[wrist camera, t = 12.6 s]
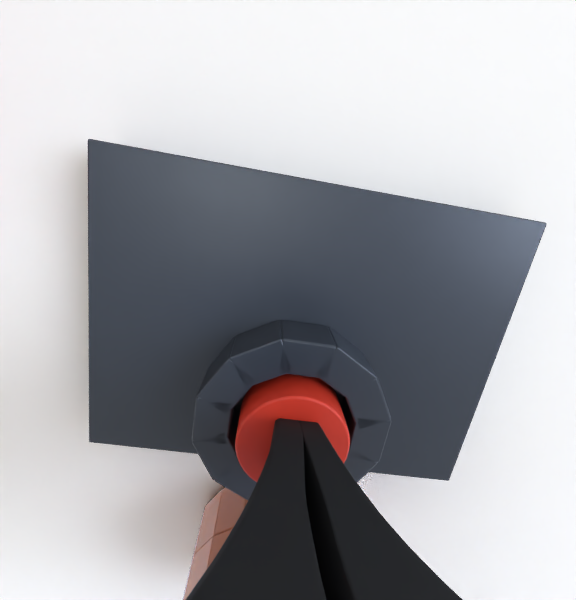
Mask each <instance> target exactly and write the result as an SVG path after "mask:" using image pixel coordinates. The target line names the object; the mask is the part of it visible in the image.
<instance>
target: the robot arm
mask: <svg viewBox="0 0 576 600" xmlns="http://www.w3.org/2000/svg"><path fill="white" fill-rule="evenodd" d="M186 600H462V599H461V598H460V597H459V596H458V595H457V594H456V593H455V592H454V591H453V590H451V589H450V588H449V587H448V586H447V585H446V584H445V583H444V582H443V581H442V580H441V579H440V578H439V577H438V576H437V575H436V574H435V573H434V572H433V571H432V570H431V569H430V568H429V567H428V566H427V565H426V564H425V563H424V562H423V561H422V560H421V559H420V558H419V557H418V556H417V555H416V554H415V552H414V551H413V550H412V549H411V548H410V547H409V546H408V545H407V544H406V543H405V542H404V541H403V539H402V538H401V537H400V536H399V535H398V534H397V533H396V532H395V530H394V529H393V528H392V527H391V526H390V525H389V524H388V522H387V521H386V520H385V519H384V518H383V516H382V515H381V514H380V513H379V512H378V510H377V509H376V508H375V507H374V505H373V504H372V503H371V501H370V500H369V499H368V497H367V496H366V495H365V493H364V492H363V491H362V489H361V488H360V486H359V485H358V484H357V482H356V481H355V479H354V478H353V477H352V475H351V474H350V472H349V471H348V469H347V468H346V466H345V465H344V463H343V462H342V460H341V459H340V457H339V456H338V454H337V452H336V451H335V449H334V448H333V446H332V444H331V443H330V441H329V440H328V438H327V436H326V435H325V433H324V431H323V430H322V428H321V426H320V425H319V423H317V422H309V421H300V420H292V419H284V418H279V419H277V420H275V424H274V429H273V435H272V440H271V446H270V451H269V454H268V457H267V459H266V462H265V465H264V468H263V470H262V472H261V474H260V477H259V479H258V481H257V483H256V485H255V488H254V490H253V492H252V494H251V496H250V498H249V500H248V502H247V504H246V506H245V508H244V510H243V511H242V513H241V515H240V517H239V519H238V520H237V522H236V524H235V526H234V527H233V529H232V531H231V532H230V534H229V536H228V537H227V539H226V541H225V542H224V544H223V545H222V547H221V549H220V550H219V552H218V553H217V555H216V557H215V558H214V560H213V561H212V563H211V564H210V566H209V567H208V569H207V570H206V571H205V573H204V574H203V576H202V577H201V578H200V580H199V581H198V583H197V584H196V586H195V587H194V588H193V590H192V591H191V593H190V594H189V595H188V597H187V598H186Z"/></svg>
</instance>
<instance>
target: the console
mask: <svg viewBox="0 0 576 600" xmlns="http://www.w3.org/2000/svg"><path fill="white" fill-rule="evenodd" d="M545 227H546V223H545V222H539V221H534V220H528V219H523V218H517V217H512V216H506V215H501V214H496V213H490V212H485V211H479V210H474V209H468V208H463V207H457V206H452V205H447V204H441V203H436V202H430V201H425V200H419V199H414V198H408V197H403V196H398V195H392V194H387V193H381V192H376V191H370V190H365V189H359V188H354V187H349V186H343V185H338V184H332V183H327V182H321V181H316V180H310V179H305V178H300V177H294V176H289V175H283V174H278V173H272V172H267V171H261V170H256V169H251V168H245V167H240V166H234V165H229V164H223V163H218V162H212V161H207V160H202V159H196V158H191V157H185V156H180V155H174V154H169V153H163V152H158V151H153V150H147V149H142V148H136V147H131V146H125V145H120V144H114V143H109V142H104V141H98V140H93V139H88V277H89V442H94V443H103V444H112V445H122V446H131V447H140V448H150V449H159V450H168V451H178V452H187V453H196V454H199V456H200V458H201V460H202V461H203V463H204V465H205V467H206V469H207V470H208V472H209V474H210V476H211V477H212V479H213V480H215V481H216V482H217V483H219V484H221V485H222V486H224V487H226V488H228V489H229V490H231V491H233V492H234V493H236V494H238V495H239V496H241V497H243V498H244V499H246V500H249V498H250V496H251V494H252V492H253V490H254V488H255V485H256V483H257V482H256V481H254V480H253V479H252V478H250V477H249V476H248V475H247V474H246V472H245V471H244V470H243V468H242V467H241V465H240V463H239V461H238V458H237V455H236V450H235V439H236V433H237V427H238V421H239V416H240V410H241V405H242V401H243V399H244V397H245V395H246V393H247V392H248V391H249V389H250V388H251V387H252V386H253V385H256V384H259V383H262V382H264V381H267V380H270V379H273V378H276V377H279V376H281V375H284V374H292V375H299V376H307V377H315V378H320V379H321V380H323V381H324V382H325V383H327V384H328V385H329V386H331V387H332V388H333V390H334V391H335V393H336V395H337V397H338V400H339V403H340V406H341V409H342V412H343V415H344V418H345V421H346V424H347V427H348V431H349V435H350V447H349V452H348V455H347V458H346V460H345V462H344V465H345V466H346V468H347V469H348V471H349V472H350V474H351V475H352V477H353V478H354V479H355V481H356V482H358V481H359V480H360V479H361V478H362V477H363V476H365V475H366V474H367V473H368V472H373V473H382V474H392V475H401V476H410V477H420V478H429V479H438V480H449V478H450V476H451V473H452V471H453V468H454V465H455V463H456V460H457V457H458V455H459V452H460V450H461V447H462V444H463V442H464V439H465V437H466V434H467V431H468V429H469V426H470V423H471V421H472V418H473V416H474V413H475V410H476V408H477V405H478V402H479V400H480V397H481V395H482V392H483V389H484V387H485V384H486V381H487V379H488V376H489V374H490V371H491V368H492V366H493V363H494V361H495V358H496V355H497V353H498V350H499V347H500V345H501V342H502V340H503V337H504V334H505V332H506V329H507V326H508V324H509V321H510V319H511V316H512V313H513V311H514V308H515V305H516V303H517V300H518V298H519V295H520V292H521V290H522V287H523V285H524V282H525V279H526V277H527V274H528V271H529V269H530V266H531V264H532V261H533V258H534V256H535V253H536V250H537V248H538V245H539V243H540V240H541V237H542V235H543V232H544V229H545Z"/></svg>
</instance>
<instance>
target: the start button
mask: <svg viewBox="0 0 576 600" xmlns="http://www.w3.org/2000/svg"><path fill="white" fill-rule="evenodd" d="M279 418H284V419H292V420H300V421H309V422H317V423H319V425H320V426H321V428H322V430H323V431H324V433H325V435H326V436H327V438H328V440H329V441H330V443H331V444H332V446H333V448H334V449H335V451H336V452H337V454H338V456H339V457H340V459H341V460H342V462H343V463H344V462H345V460H346V458H347V455H348V452H349V447H350V435H349V431H348V427H347V424H346V421H345V418H344V415H343V412H342V409H341V406H340V403H339V400H338V397H337V395H336V393H335V391H334V390H333V388H332V387H331V386H329V385H328V384H327V383H325V382H324V381H323V380H321V379H320V378H315V377H307V376H299V375H292V374H284V375H281V376H279V377H276V378H273V379H270V380H267V381H264V382H262V383H259V384H256V385H253V386H252V387H251V388H250V389H249V391H248V392H247V393H246V395H245V397H244V399H243V401H242V405H241V410H240V416H239V421H238V427H237V433H236V439H235V450H236V455H237V458H238V461H239V463H240V465H241V467H242V468H243V470H244V471H245V472H246V474H247V475H248V476H249V477H250V478H252V479H253V480H254V481H256V482H257V481H258V479H259V477H260V474H261V472H262V470H263V468H264V465H265V462H266V459H267V457H268V454H269V451H270V446H271V440H272V435H273V429H274V424H275V420H277V419H279Z"/></svg>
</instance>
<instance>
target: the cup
mask: <svg viewBox="0 0 576 600" xmlns="http://www.w3.org/2000/svg"><path fill="white" fill-rule="evenodd" d="M247 502H248V500H246V499H244V498H243V497H241V496H239V495H238V494H236V493H234V492H233V491H231V490H229V489H228V488H226V487H225V488H223V489H221V490H220V491H219V492H218V493H217V494H216V495H215V496H214V497H213V498H212V499H211V500H210V501H209V503H208V504H207V505H206V506H205V508H204V512H203V516H202V520H201V524H200V528H199V532H198V537H197V541H196V545H195V549H194V553H193V558H192V562H191V566H190V570H189V575H188V579H187V583H186V587H185V592H184V596H183V600H186V598H187V597H188V595H189V594H190V593H191V591H192V590H193V588H194V587H195V586H196V584H197V583H198V581H199V580H200V578H201V577H202V576H203V574H204V573H205V571H206V570H207V569H208V567H209V566H210V564H211V563H212V561H213V560H214V558H215V557H216V555H217V553H218V552H219V550H220V549H221V547H222V545H223V544H224V542H225V541H226V539H227V537H228V536H229V534H230V532H231V531H232V529H233V527H234V526H235V524H236V522H237V520H238V519H239V517H240V515H241V513H242V511H243V510H244V508H245V506H246V504H247Z"/></svg>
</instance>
